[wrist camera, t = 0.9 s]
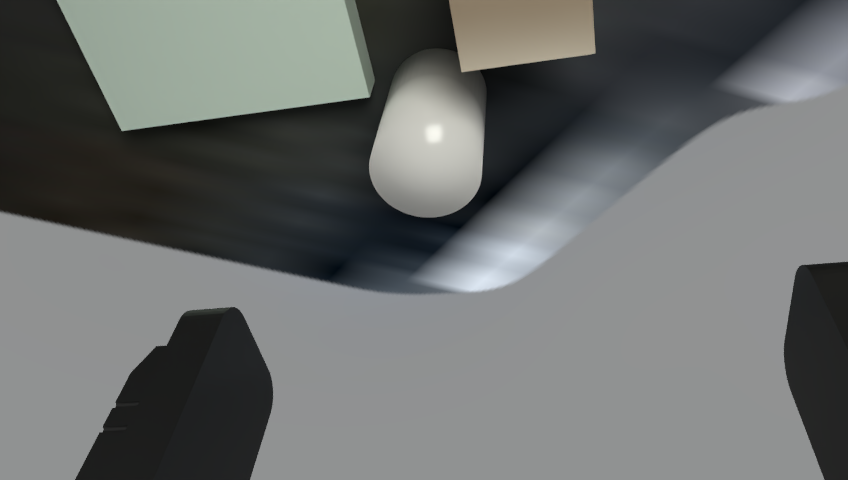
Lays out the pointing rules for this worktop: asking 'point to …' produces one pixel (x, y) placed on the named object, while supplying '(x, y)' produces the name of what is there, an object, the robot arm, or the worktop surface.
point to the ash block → (520, 31)
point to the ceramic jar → (430, 136)
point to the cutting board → (219, 56)
